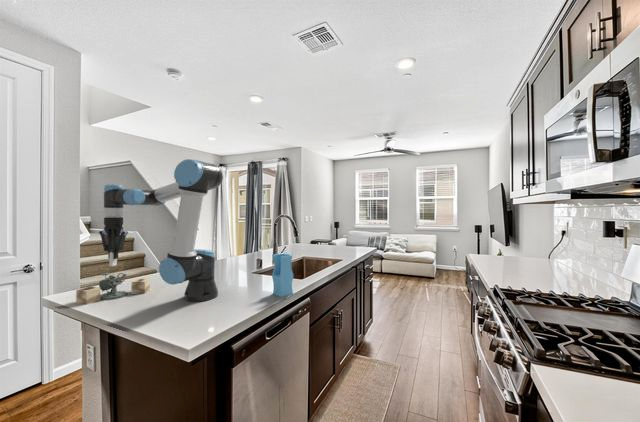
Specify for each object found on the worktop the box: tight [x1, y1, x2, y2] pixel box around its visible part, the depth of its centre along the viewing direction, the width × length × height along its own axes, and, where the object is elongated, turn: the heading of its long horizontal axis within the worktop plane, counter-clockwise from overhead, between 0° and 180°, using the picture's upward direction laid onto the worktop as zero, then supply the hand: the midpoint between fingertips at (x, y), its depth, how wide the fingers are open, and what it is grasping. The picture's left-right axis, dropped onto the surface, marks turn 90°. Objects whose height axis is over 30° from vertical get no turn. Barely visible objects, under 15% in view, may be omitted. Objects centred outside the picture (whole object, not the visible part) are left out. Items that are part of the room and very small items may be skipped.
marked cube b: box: [75, 285, 101, 305], centre depth 125 cm, size 6×6×6 cm
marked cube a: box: [130, 278, 151, 295], centre depth 140 cm, size 6×6×6 cm
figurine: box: [98, 272, 128, 301], centre depth 132 cm, size 11×11×12 cm
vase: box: [271, 252, 295, 298], centre depth 140 cm, size 8×8×20 cm
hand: (113, 265), depth 132 cm, fingers closed
